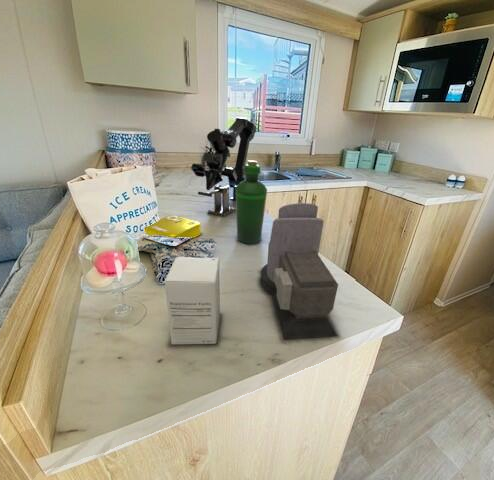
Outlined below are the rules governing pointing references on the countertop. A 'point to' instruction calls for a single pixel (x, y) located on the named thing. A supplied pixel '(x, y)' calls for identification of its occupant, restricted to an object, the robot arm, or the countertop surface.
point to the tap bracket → (223, 208)
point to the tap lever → (211, 192)
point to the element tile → (174, 227)
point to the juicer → (299, 274)
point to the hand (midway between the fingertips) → (207, 189)
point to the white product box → (193, 300)
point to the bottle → (250, 205)
